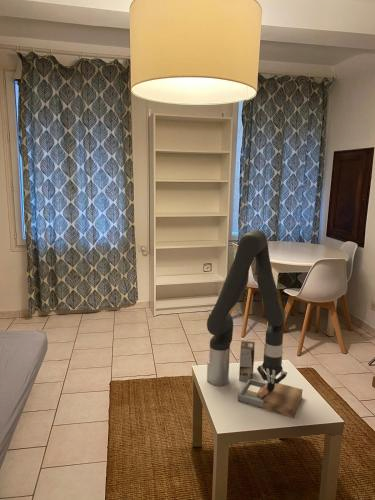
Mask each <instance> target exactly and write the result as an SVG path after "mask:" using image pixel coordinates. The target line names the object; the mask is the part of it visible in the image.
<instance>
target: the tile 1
mask: <svg viewBox="0 0 375 500" xmlns="http://www.w3.org/2000/svg"><path fill="white" fill-rule="evenodd" d="M259 391H260V387H256V386H253V385H250V387H249V388H248V390H247V394H248V395H252V396H256V397H257V396H258V393H259Z"/></svg>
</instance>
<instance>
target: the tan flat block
mask: <svg viewBox="0 0 375 500" xmlns="http://www.w3.org/2000/svg"><path fill="white" fill-rule="evenodd" d="M302 398H303V389H302V388H298V387H294V386H291V385H287V384H283V383H280V382H279V383H278V384H276V383H275V388H274V390H272V391H268V393H267V395H266V397H265V398H264V400H263V409H262V410H265V411H268V412H271V413H275V414H278V415H282V416H284V417H289V418H292V419H294V417H295V416H296V413H297V411H298V409H299V406H300V404H301V401H302Z"/></svg>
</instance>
